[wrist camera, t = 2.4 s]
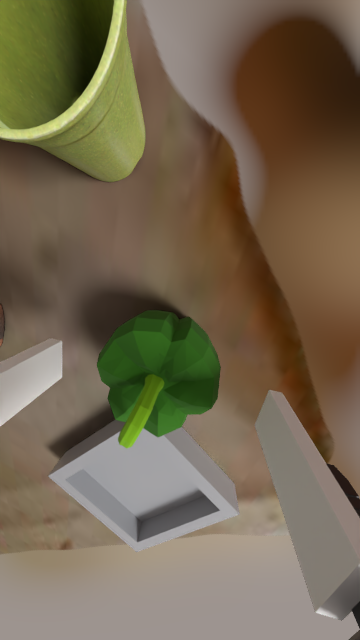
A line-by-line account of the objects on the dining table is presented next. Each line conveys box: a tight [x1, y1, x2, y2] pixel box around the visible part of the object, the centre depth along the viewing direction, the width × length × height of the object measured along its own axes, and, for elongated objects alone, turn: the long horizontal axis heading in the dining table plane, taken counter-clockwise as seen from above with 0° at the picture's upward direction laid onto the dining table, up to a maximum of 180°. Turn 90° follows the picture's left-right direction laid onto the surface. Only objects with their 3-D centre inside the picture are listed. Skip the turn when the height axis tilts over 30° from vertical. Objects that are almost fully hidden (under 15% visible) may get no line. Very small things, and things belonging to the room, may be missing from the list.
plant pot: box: [0, 0, 145, 182], centre depth 10 cm, size 9×9×9 cm
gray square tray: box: [48, 420, 239, 552], centre depth 23 cm, size 16×16×3 cm
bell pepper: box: [97, 310, 221, 448], centre depth 14 cm, size 8×8×10 cm
